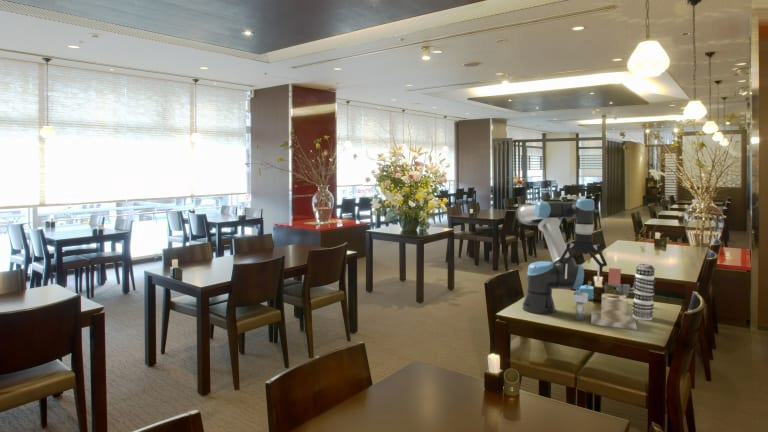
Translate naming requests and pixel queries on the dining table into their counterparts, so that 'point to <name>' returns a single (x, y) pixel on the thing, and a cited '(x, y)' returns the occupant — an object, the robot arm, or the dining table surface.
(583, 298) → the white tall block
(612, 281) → the keeper flap
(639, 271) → the black and white tower
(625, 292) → the mechanical component
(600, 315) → the hitch block
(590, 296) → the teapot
